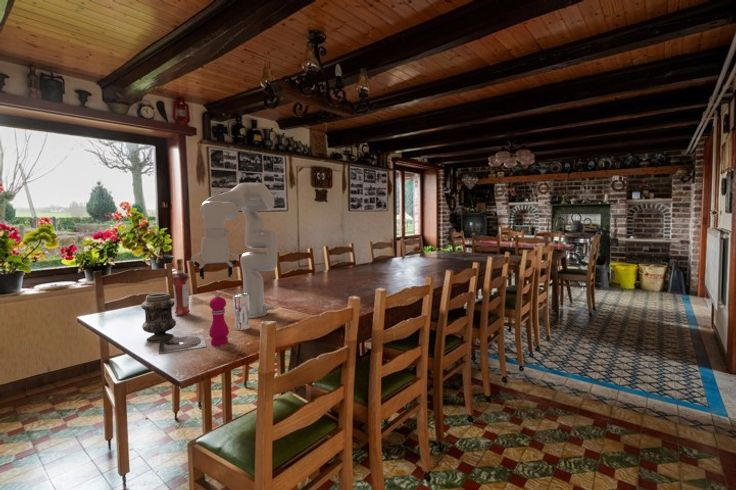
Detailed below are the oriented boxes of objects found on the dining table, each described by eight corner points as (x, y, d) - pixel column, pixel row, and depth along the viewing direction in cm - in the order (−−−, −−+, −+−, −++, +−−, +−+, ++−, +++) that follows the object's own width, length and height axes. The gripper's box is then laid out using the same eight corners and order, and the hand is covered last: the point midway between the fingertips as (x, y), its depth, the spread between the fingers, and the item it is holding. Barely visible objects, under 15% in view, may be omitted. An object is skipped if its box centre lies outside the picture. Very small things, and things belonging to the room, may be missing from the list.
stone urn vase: (178, 332, 165) (175, 291, 164) (174, 340, 154) (172, 295, 153) (146, 336, 161) (143, 293, 160) (140, 344, 150) (137, 298, 149)
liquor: (177, 312, 198) (174, 258, 195) (192, 312, 199) (189, 258, 196) (171, 316, 191) (168, 260, 188) (187, 316, 191) (184, 259, 189)
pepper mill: (213, 340, 155) (210, 291, 153) (231, 339, 156) (229, 291, 154) (207, 346, 148) (204, 295, 146) (226, 346, 149) (224, 295, 147)
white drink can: (253, 326, 173) (252, 293, 172) (243, 331, 167) (242, 297, 165) (240, 325, 176) (239, 292, 174) (230, 329, 169) (229, 296, 168)
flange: (203, 335, 162) (203, 332, 162) (206, 347, 148) (206, 344, 148) (159, 341, 155) (159, 338, 155) (158, 354, 141) (158, 351, 141)
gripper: (237, 232, 156) (238, 275, 157) (189, 233, 148) (191, 278, 149) (239, 233, 149) (241, 277, 150) (190, 234, 142) (192, 280, 143)
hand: (216, 277), depth 150 cm, fingers open, 9 cm apart
